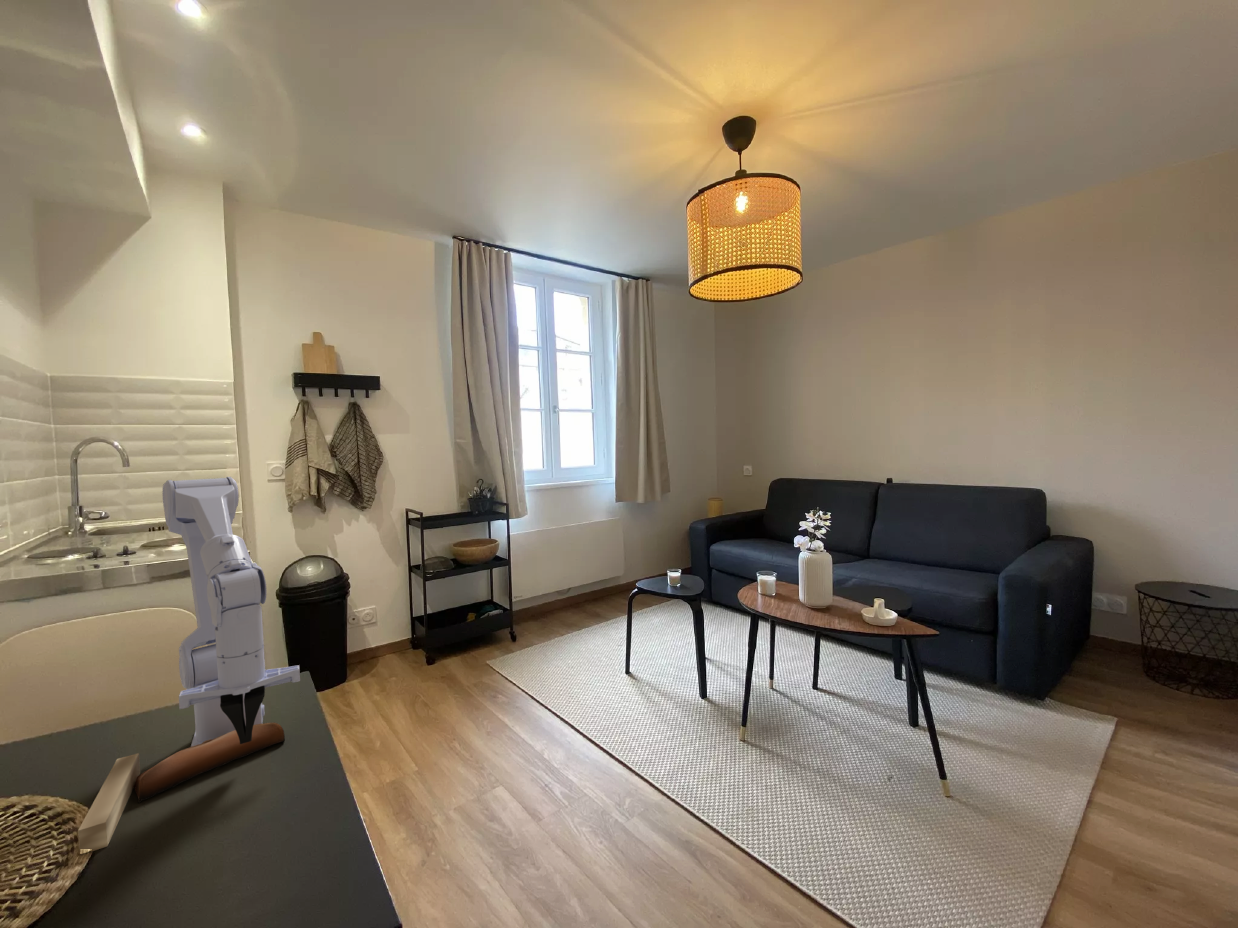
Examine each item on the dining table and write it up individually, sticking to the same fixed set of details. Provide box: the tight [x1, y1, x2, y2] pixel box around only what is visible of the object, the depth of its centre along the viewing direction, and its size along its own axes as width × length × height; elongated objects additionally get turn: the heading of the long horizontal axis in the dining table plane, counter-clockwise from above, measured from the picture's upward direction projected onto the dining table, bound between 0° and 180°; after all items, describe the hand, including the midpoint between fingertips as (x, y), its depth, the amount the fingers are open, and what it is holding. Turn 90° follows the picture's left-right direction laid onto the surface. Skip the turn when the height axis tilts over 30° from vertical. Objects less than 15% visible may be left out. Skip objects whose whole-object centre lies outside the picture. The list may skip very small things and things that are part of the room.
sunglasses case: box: [133, 722, 286, 804], centre depth 80 cm, size 18×7×7 cm, turn 142°
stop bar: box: [77, 752, 141, 852], centre depth 70 cm, size 2×18×3 cm, turn 33°
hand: (246, 739), depth 78 cm, fingers closed
